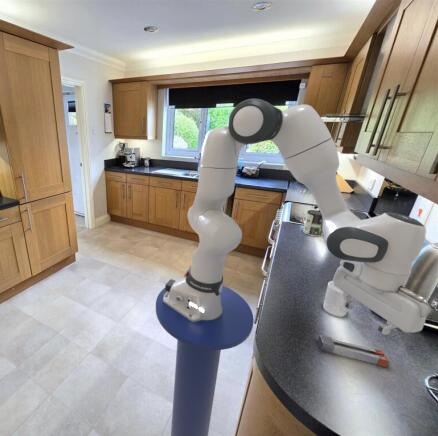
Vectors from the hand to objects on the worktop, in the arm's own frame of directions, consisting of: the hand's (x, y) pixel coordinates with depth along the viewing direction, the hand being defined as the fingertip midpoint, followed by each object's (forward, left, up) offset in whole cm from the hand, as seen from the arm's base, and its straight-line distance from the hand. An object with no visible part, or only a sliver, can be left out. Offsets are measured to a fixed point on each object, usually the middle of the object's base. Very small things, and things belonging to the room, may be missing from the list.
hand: (364, 319), depth 66 cm
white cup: (-4, +20, -13) cm, 24 cm away
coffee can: (-16, +100, -13) cm, 102 cm away
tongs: (0, 0, -13) cm, 13 cm away
